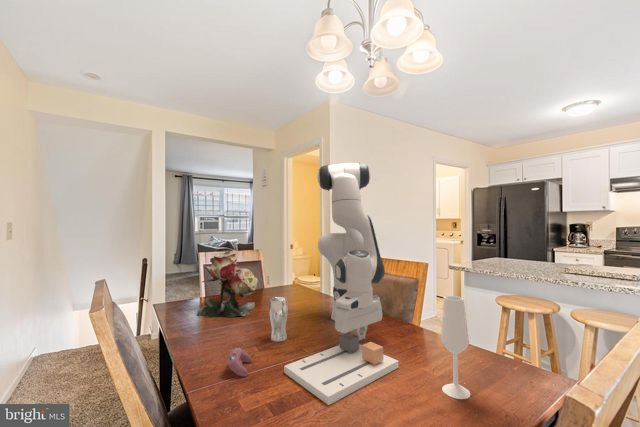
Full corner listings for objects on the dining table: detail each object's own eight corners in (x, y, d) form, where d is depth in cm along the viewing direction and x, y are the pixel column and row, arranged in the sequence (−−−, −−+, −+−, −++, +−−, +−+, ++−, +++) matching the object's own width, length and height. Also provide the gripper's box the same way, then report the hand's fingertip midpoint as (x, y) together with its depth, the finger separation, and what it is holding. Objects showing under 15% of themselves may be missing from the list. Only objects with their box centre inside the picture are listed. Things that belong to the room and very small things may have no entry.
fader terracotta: (370, 354, 91) (370, 341, 92) (383, 360, 88) (383, 346, 88) (361, 358, 89) (361, 345, 89) (374, 364, 85) (374, 350, 85)
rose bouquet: (254, 317, 137) (253, 253, 138) (192, 318, 137) (192, 254, 138) (264, 302, 163) (264, 248, 163) (212, 302, 163) (212, 249, 164)
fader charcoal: (348, 344, 99) (348, 332, 99) (358, 349, 95) (358, 336, 95) (339, 347, 97) (339, 335, 97) (350, 352, 93) (350, 340, 93)
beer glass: (284, 342, 107) (284, 301, 108) (266, 341, 109) (266, 301, 109) (290, 335, 114) (289, 297, 114) (273, 334, 115) (273, 296, 116)
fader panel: (351, 346, 104) (351, 340, 104) (398, 367, 88) (398, 360, 88) (284, 372, 86) (284, 365, 86) (328, 405, 70) (328, 396, 70)
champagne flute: (462, 383, 79) (459, 294, 80) (476, 398, 72) (473, 301, 73) (437, 384, 79) (435, 295, 79) (449, 399, 72) (446, 301, 73)
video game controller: (240, 366, 93) (230, 347, 93) (253, 359, 93) (243, 340, 93) (234, 384, 83) (222, 362, 83) (248, 375, 84) (237, 354, 84)
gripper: (372, 291, 109) (373, 329, 108) (331, 301, 96) (332, 344, 95) (386, 294, 104) (387, 334, 103) (345, 305, 91) (345, 350, 90)
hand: (360, 339), depth 99 cm, fingers closed
